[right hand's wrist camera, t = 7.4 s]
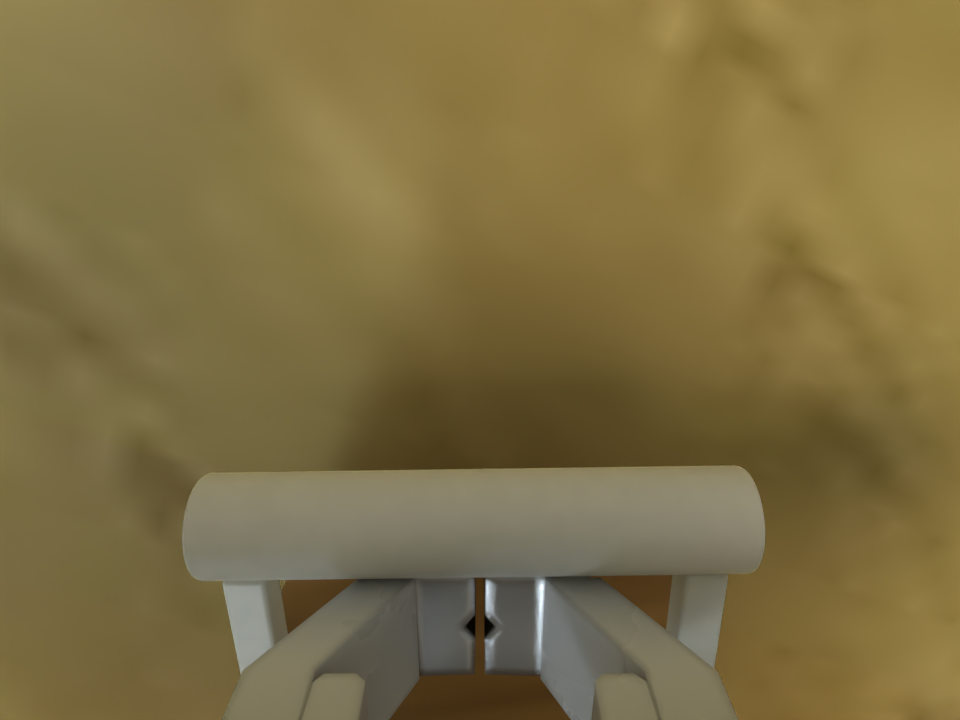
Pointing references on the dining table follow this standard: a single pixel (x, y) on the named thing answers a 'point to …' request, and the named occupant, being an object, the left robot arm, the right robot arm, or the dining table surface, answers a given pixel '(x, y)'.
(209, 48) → the dining table surface
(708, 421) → the dining table surface
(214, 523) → the drawer
